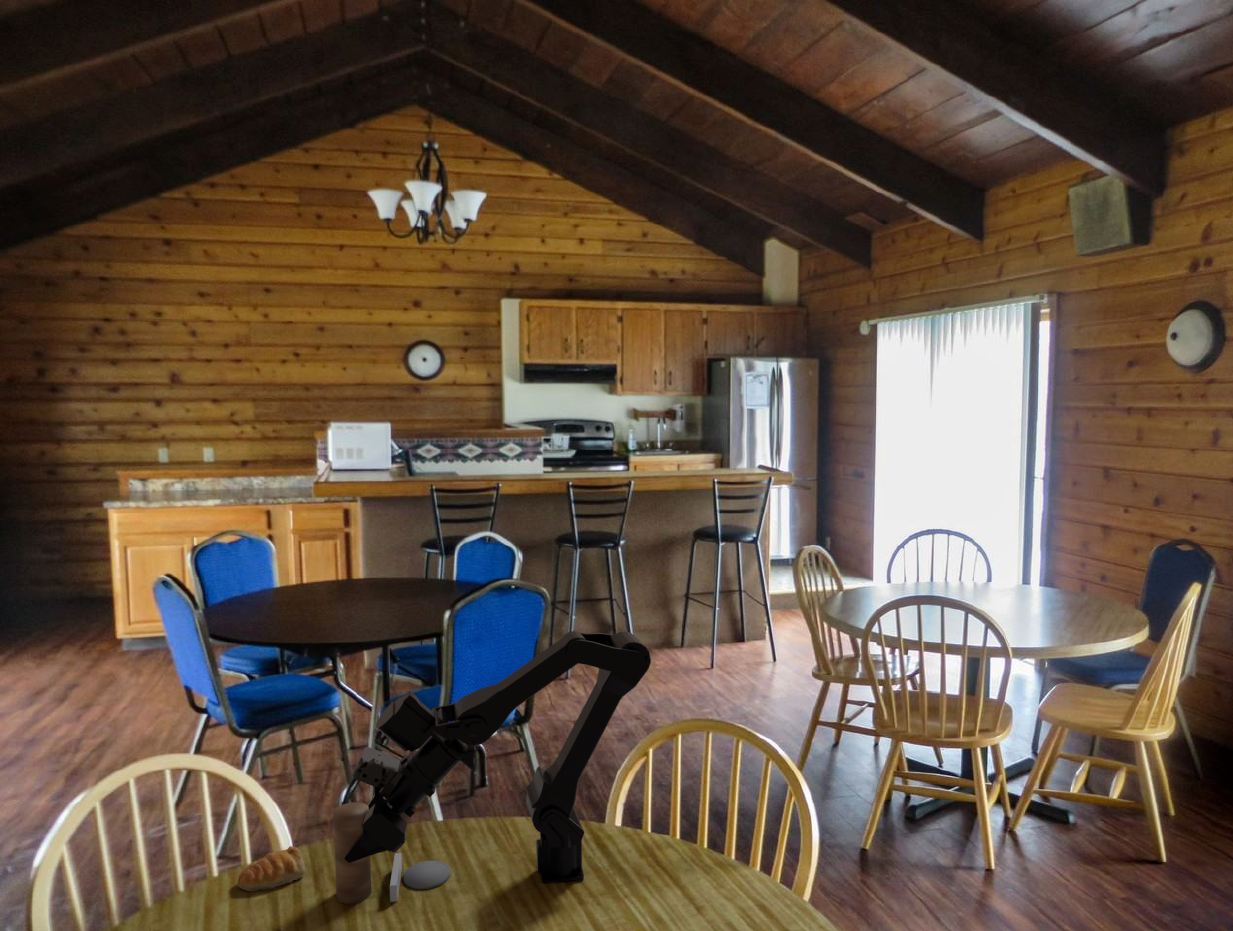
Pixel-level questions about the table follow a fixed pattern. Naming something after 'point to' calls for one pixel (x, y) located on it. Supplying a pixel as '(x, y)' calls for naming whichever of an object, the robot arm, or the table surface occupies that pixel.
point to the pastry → (273, 870)
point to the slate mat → (426, 874)
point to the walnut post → (349, 876)
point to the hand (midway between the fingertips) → (351, 843)
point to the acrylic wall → (395, 877)
